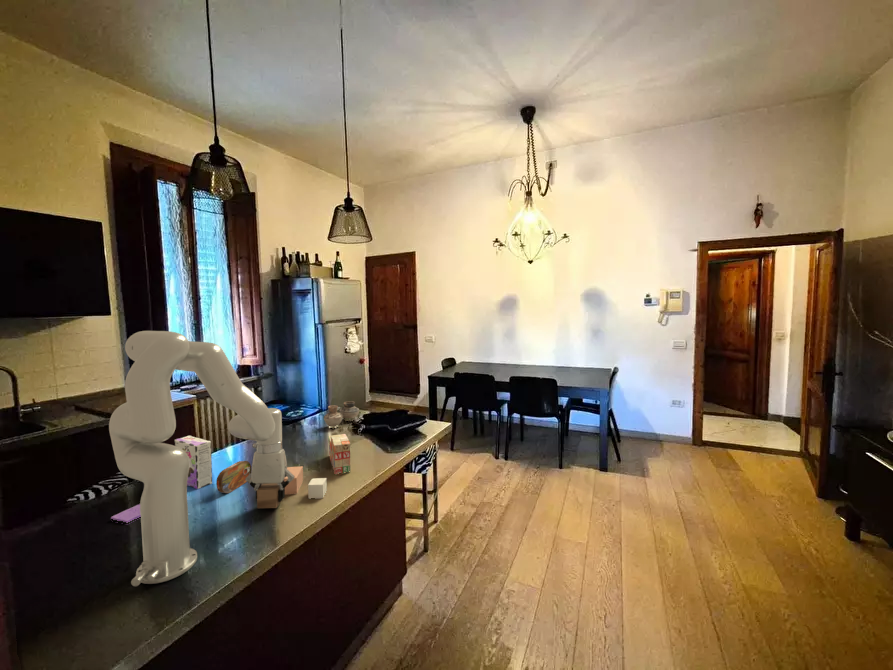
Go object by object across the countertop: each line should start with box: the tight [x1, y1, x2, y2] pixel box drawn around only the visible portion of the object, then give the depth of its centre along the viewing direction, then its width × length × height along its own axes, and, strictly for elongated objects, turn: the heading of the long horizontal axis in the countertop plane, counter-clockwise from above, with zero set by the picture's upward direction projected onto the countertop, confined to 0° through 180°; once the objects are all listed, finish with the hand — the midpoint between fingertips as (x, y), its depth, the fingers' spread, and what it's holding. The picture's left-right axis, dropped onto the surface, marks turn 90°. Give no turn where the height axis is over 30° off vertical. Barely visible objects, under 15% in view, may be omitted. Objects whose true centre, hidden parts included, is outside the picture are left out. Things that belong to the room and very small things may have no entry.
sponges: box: [110, 503, 141, 523], centre depth 124 cm, size 7×13×2 cm, turn 162°
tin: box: [215, 460, 252, 494], centre depth 141 cm, size 15×3×8 cm, turn 168°
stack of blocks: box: [327, 433, 351, 475], centre depth 162 cm, size 21×6×12 cm, turn 23°
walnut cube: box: [256, 483, 284, 509], centre depth 127 cm, size 6×6×6 cm
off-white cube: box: [307, 477, 328, 500], centre depth 135 cm, size 5×5×5 cm
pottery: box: [323, 400, 360, 426], centre depth 218 cm, size 11×25×12 cm, turn 158°
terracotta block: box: [284, 466, 304, 496], centre depth 141 cm, size 10×10×6 cm
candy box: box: [174, 435, 213, 490], centre depth 145 cm, size 14×6×16 cm, turn 62°
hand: (270, 500), depth 127 cm, fingers closed on walnut cube, 6 cm apart
